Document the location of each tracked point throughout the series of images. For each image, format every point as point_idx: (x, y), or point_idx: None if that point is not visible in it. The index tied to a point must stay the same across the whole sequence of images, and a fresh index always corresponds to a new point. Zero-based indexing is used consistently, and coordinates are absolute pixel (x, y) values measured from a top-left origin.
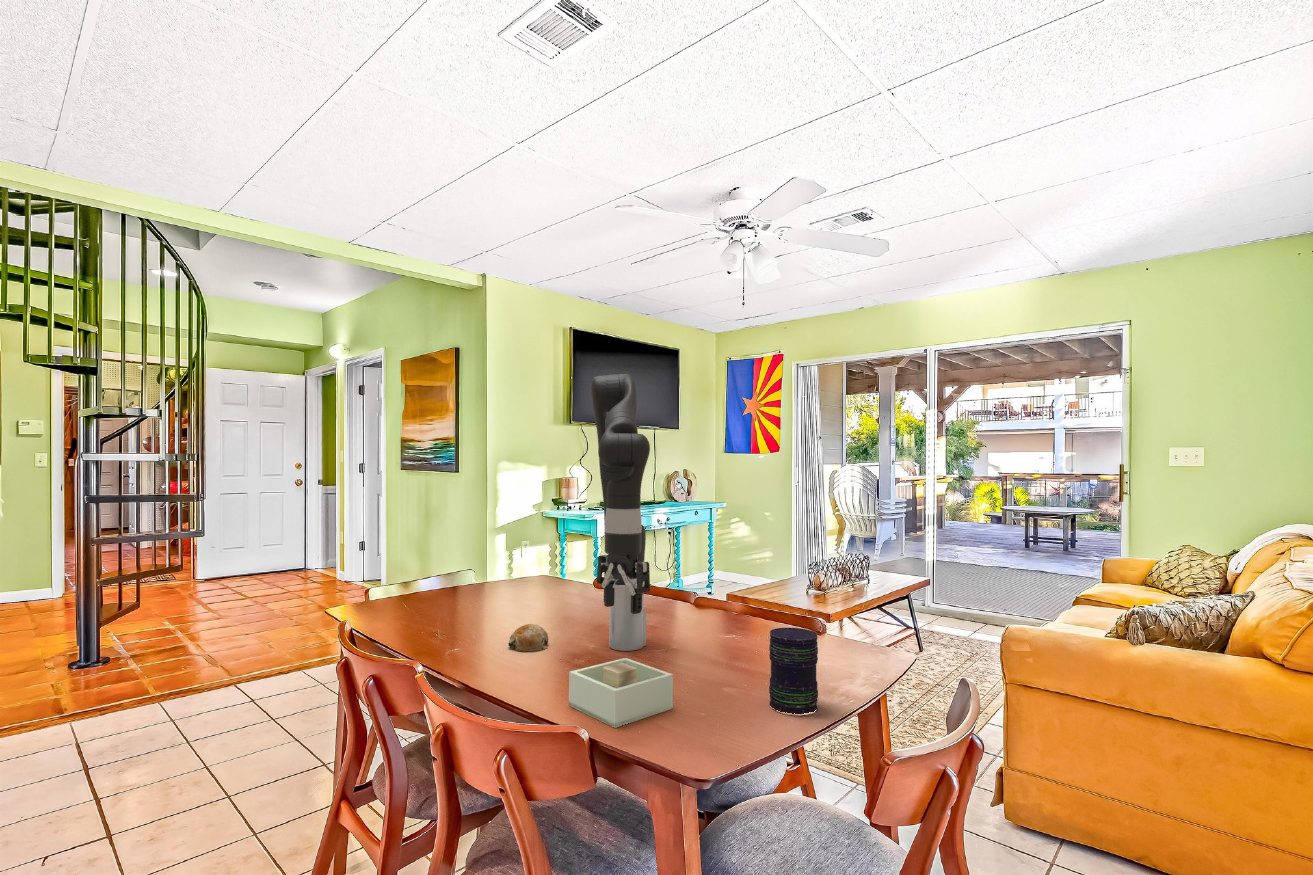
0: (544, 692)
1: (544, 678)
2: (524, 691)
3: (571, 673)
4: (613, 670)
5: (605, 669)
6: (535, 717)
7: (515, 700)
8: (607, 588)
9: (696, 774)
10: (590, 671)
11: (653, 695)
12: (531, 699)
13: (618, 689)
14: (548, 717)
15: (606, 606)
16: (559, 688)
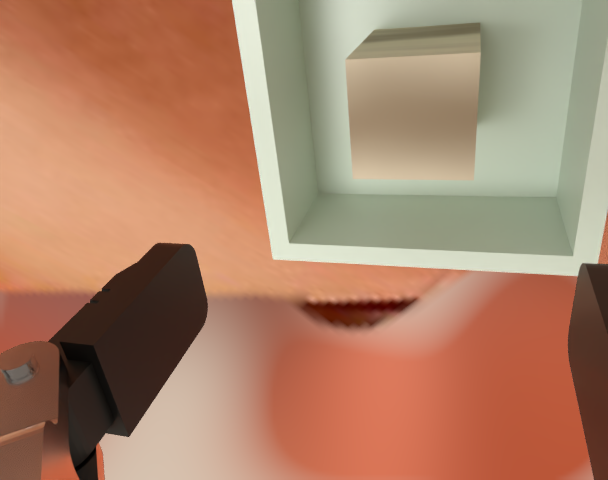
0: (168, 192)
1: (48, 122)
2: (136, 229)
3: (289, 258)
4: (421, 169)
5: (373, 176)
6: (333, 311)
7: None
8: (112, 423)
9: None
10: (283, 170)
11: None
12: (205, 249)
13: (590, 256)
14: (354, 290)
15: (205, 313)
16: (154, 137)
